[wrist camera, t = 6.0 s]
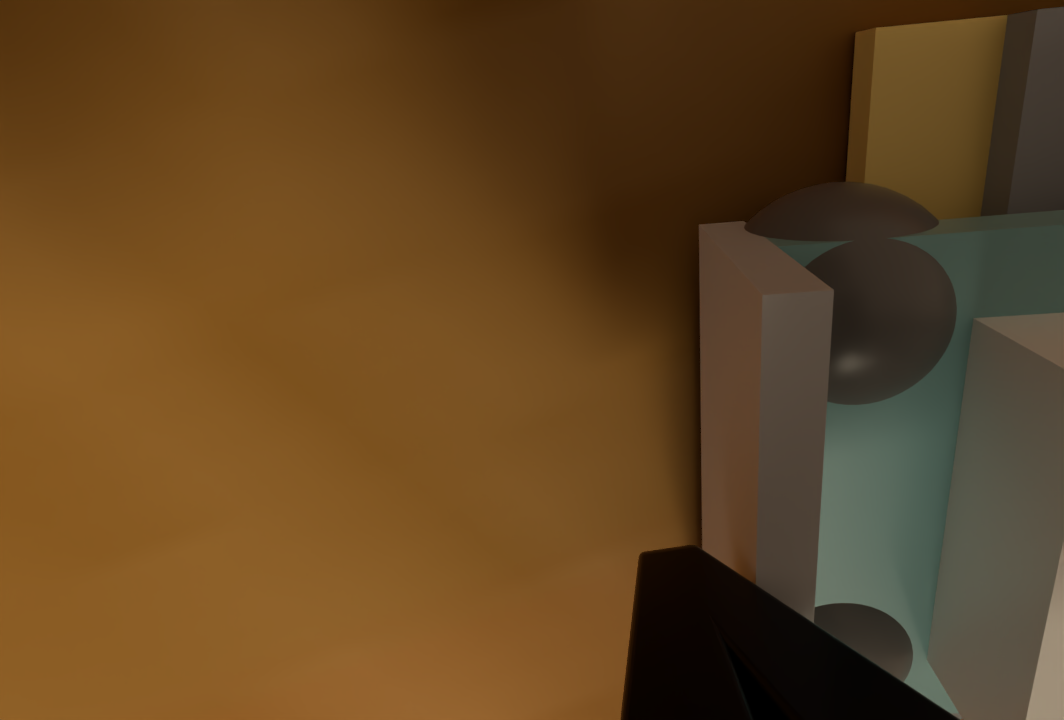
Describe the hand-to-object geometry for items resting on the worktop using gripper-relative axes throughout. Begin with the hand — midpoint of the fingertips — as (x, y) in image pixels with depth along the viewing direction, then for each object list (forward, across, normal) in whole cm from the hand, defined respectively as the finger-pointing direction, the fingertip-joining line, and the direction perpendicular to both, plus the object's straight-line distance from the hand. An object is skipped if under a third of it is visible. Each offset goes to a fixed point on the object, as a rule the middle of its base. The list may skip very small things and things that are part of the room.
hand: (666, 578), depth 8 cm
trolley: (+3, -6, 0) cm, 6 cm away
